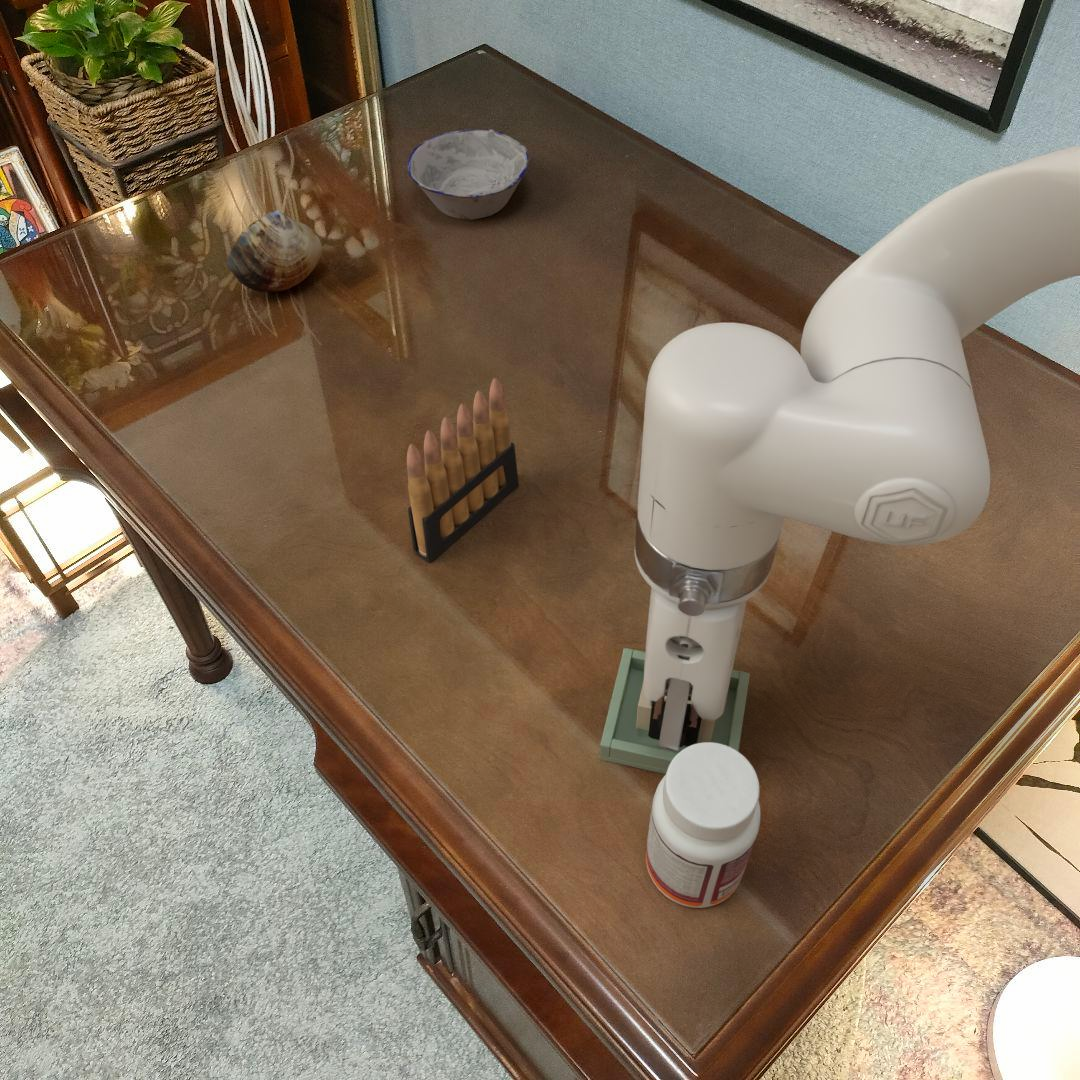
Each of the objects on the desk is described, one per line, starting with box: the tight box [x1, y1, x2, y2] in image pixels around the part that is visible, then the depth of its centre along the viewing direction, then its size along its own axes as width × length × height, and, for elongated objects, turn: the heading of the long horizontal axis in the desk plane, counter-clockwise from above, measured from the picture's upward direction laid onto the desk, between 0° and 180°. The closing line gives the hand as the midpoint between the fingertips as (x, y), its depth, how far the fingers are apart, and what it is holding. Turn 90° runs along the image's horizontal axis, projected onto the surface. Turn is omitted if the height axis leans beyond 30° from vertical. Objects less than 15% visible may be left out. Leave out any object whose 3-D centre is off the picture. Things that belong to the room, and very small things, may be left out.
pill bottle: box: [645, 742, 761, 909], centre depth 60 cm, size 6×6×11 cm
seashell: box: [226, 209, 323, 293], centre depth 99 cm, size 10×6×8 cm, turn 125°
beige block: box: [636, 681, 715, 742], centre depth 68 cm, size 5×4×3 cm
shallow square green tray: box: [599, 647, 751, 775], centre depth 70 cm, size 9×8×2 cm
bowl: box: [406, 128, 530, 221], centre depth 110 cm, size 13×13×5 cm
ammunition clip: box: [406, 376, 520, 563], centre depth 78 cm, size 11×2×12 cm, turn 140°
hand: (678, 706), depth 69 cm, fingers closed on beige block, 4 cm apart
